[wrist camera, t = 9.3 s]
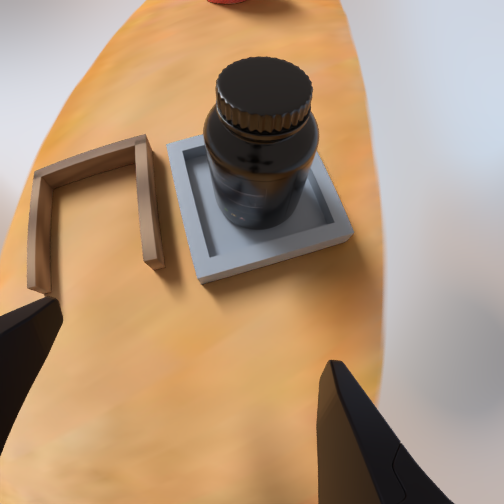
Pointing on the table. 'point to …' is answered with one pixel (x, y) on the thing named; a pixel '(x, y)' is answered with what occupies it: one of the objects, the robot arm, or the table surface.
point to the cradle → (78, 169)
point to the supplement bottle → (260, 140)
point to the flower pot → (226, 1)
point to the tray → (246, 240)
